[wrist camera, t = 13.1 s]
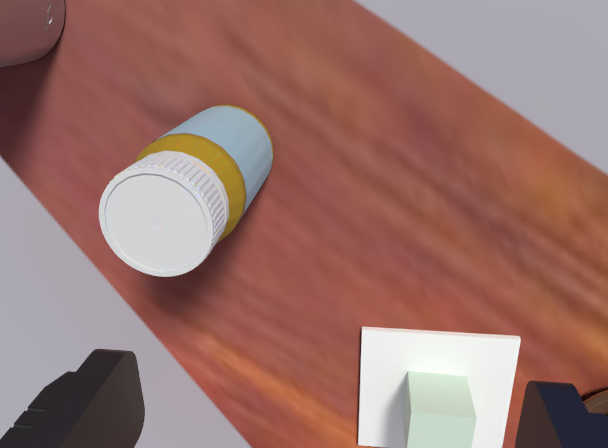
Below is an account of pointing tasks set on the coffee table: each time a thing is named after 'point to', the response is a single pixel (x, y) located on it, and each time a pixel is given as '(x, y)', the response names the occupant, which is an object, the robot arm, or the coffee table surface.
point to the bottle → (186, 191)
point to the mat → (433, 359)
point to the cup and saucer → (598, 403)
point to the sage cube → (438, 411)
